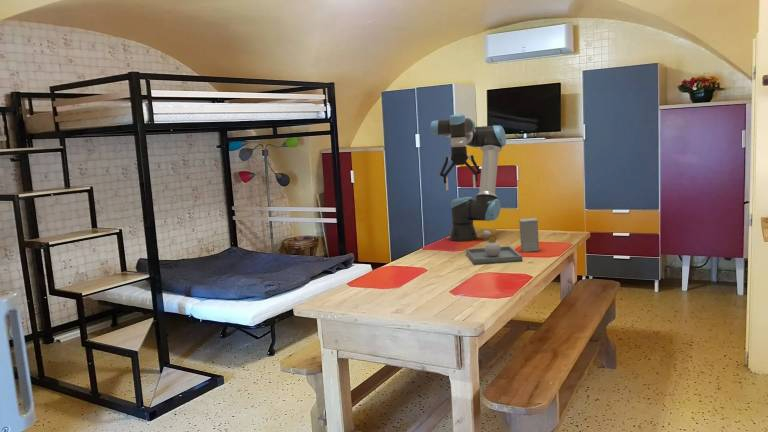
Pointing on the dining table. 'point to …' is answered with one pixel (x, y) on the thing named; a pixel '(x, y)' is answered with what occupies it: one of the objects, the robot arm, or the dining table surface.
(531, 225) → the skincare box
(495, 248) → the perfume bottle
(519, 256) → the tray
